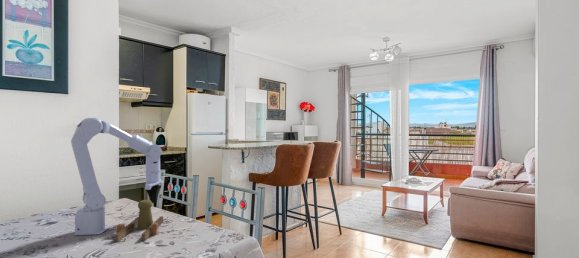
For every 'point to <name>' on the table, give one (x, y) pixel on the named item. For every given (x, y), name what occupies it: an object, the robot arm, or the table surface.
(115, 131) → the robot arm
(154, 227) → the guide channel
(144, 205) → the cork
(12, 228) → the table surface
